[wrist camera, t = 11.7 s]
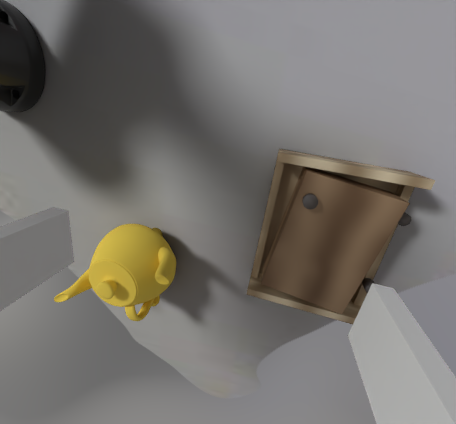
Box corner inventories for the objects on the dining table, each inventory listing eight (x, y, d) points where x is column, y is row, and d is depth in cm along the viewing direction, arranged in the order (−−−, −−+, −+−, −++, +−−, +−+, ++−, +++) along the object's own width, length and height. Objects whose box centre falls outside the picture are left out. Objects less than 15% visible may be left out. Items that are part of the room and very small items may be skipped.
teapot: (124, 297, 47) (78, 345, 37) (91, 230, 44) (28, 262, 33) (215, 283, 41) (191, 336, 31) (185, 204, 38) (145, 232, 27)
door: (264, 264, 37) (260, 288, 31) (304, 164, 31) (307, 172, 25) (334, 290, 35) (343, 320, 30) (390, 191, 29) (414, 206, 24)
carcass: (251, 272, 39) (246, 294, 34) (279, 148, 32) (278, 152, 27) (355, 300, 36) (366, 328, 31) (411, 172, 29) (437, 180, 24)
